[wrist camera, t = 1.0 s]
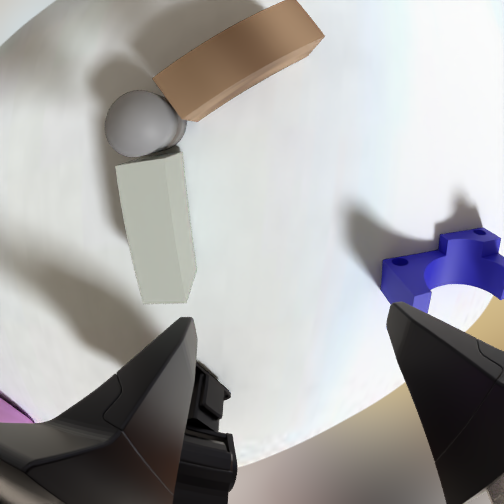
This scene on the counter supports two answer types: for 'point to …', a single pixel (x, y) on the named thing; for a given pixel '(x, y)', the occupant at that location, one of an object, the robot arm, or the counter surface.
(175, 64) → the hinge base
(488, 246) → the cable clip
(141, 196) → the hinge leaf
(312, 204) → the counter surface
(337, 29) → the counter surface
